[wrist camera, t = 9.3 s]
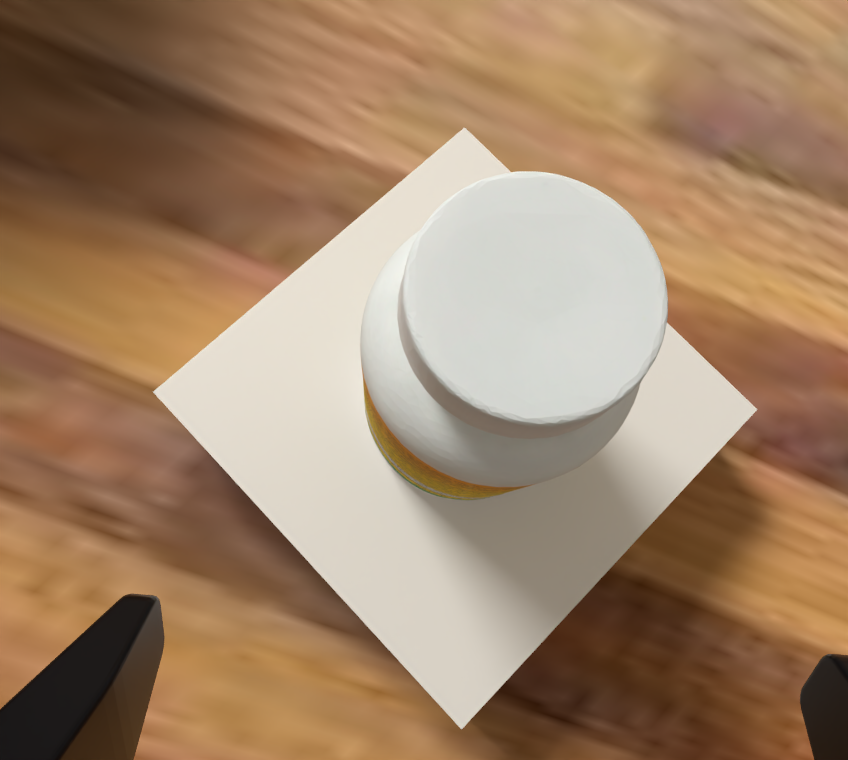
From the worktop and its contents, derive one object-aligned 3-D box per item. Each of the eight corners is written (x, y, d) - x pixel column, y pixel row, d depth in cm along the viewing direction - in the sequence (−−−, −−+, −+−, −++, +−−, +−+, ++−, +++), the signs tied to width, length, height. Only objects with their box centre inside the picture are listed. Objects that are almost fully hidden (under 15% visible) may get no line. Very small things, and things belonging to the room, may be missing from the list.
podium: (702, 427, 24) (757, 409, 20) (447, 698, 21) (461, 729, 18) (452, 182, 25) (464, 127, 22) (186, 413, 23) (152, 391, 19)
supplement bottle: (388, 295, 20) (399, 89, 11) (569, 335, 20) (734, 166, 11) (344, 480, 19) (315, 425, 10) (537, 522, 19) (692, 508, 10)
